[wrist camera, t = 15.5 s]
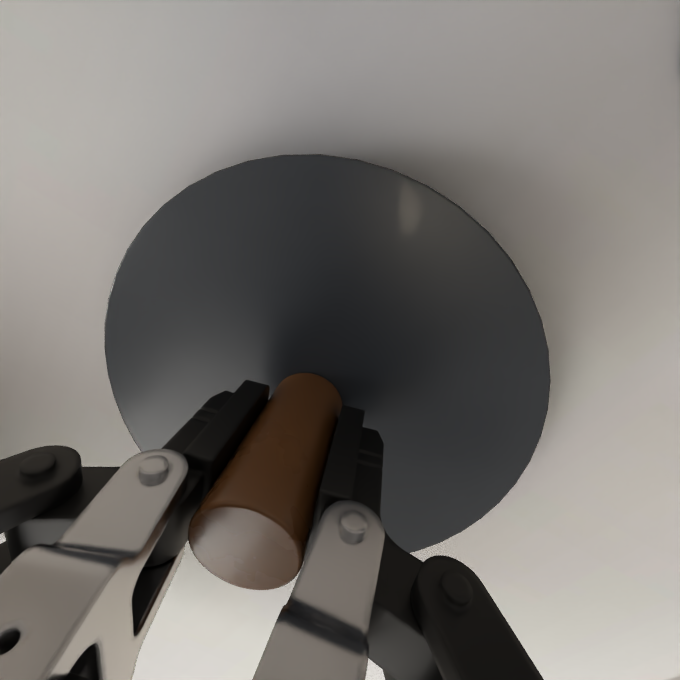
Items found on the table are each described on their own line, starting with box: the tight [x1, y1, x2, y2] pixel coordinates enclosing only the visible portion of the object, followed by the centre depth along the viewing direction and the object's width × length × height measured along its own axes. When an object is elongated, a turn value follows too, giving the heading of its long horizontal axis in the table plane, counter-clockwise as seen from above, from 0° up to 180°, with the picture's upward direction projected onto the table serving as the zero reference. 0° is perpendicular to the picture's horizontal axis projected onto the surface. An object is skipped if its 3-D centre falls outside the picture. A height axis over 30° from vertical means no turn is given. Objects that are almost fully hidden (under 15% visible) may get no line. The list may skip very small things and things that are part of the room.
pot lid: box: [105, 154, 550, 590], centre depth 10 cm, size 15×15×7 cm
